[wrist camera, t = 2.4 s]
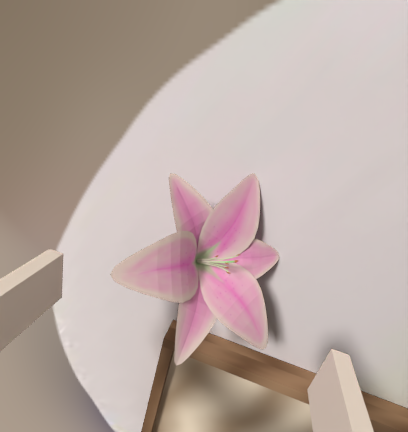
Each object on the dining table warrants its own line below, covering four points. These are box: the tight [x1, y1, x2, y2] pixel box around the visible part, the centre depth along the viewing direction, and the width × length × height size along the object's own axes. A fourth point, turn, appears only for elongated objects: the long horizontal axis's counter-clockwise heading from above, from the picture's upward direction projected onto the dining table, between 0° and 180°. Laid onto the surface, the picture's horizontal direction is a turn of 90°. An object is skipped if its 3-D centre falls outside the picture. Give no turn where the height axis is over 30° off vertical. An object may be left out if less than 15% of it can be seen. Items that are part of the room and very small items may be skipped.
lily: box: [110, 173, 279, 366], centre depth 19 cm, size 12×12×10 cm
